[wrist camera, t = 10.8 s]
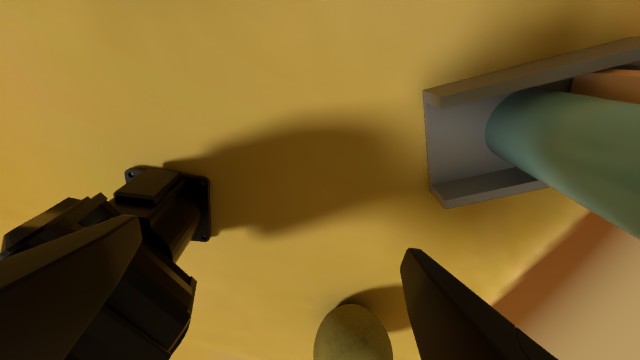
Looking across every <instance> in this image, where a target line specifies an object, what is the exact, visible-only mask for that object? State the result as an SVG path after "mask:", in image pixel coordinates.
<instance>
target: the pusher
mask: <svg viewBox="0 0 640 360" xmlns="http://www.w3.org/2000/svg"><path fill="white" fill-rule="evenodd" d="M571 93H576V94H582V95H588V96H594V97H599V98H605V99H611V100H617V101H623V102H629V103H634V104H640V71H638V70H623V69H608V68H607V69H603V70H599V71H595V72H591V73H587V74H583V75H579V76H575V77H573V81H572V87H571Z"/></svg>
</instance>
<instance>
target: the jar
mask: <svg viewBox="0 0 640 360" xmlns="http://www.w3.org/2000/svg"><path fill="white" fill-rule="evenodd" d="M485 140H486V144H487V146H488V148H489V149H490V151H491V152H492V153H494V154H495V155H496V156H498V157H500V158H502V159H503V160H505V161H507V162H508V163H510V164H512V165H513V166H515V167H517V168H519V169H520V170H522V171H524V172H525V173H527V174H529V175H531V176H532V177H534V178H536V179H537V180H539V181H541V182H542V183H544V184H546V185H548V186H549V187H551V188H553V189H554V190H556V191H558V192H560V193H561V194H563V195H565V196H566V197H568V198H570V199H571V200H573V201H575V202H577V203H578V204H580V205H582V206H583V207H585V208H587V209H589V210H590V211H592V212H594V213H595V214H597V215H599V216H601V217H602V218H604V219H606V220H607V221H609V222H611V223H613V224H614V225H616V226H618V227H619V228H621V229H623V230H625V231H626V232H628V233H630V234H631V235H633V236H635V237H636V238H638V239H640V104H634V103H629V102H623V101H617V100H611V99H605V98H599V97H594V96H588V95H582V94H576V93H570V92H564V91H559V90H553V89H547V88H541V87H530V88H526V89H522V90H518V91H516V92H514V93H512V94H511V95H509V96H508V97H506V98H505V99H504V100H503V101H502V102H500V103H499V104H498V106H497V107H496V108H495V109H494V111H493V112H492V114H491V115H490V117H489V119H488V122H487V125H486V129H485Z"/></svg>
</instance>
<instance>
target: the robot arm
mask: <svg viewBox="0 0 640 360" xmlns="http://www.w3.org/2000/svg"><path fill="white" fill-rule="evenodd" d="M131 173H133V174H134V176H133V175H132V174H131ZM125 180H126V184H125V185H124V186H122V187H121V188H120V189H118V190H117V191H116V192H114V194H113V195H114V198H112V199H111V200H110V201H107V198H106V197H105V196H104V195H103V194H102V193H101V192H100V193H99V194H97V195H95V196H94V197H92V198H91V199H90V198H89V197H88V196H87V197H86V198H84V199H82V200H79V199H74V198H69V197H68V198H67V199H65V200H63V201H62V202H60V203H58V204H57V205H55V206H53V207H52V208H50V209H48V210H47V211H45V212H43V213H41V214H40V215H38V216H36V217H34V218H32V219H31V220H29V221H27V222H25V223H23V224H22V225H20V226H18V227H16V228H15V229H13V230H11V231H10V232H8V233H7V234H5V235H4V236H3V242H2V247H1V252H0V360H169V359H170V357H171V355H172V354H173V352H174V351H175V350H176V348H177V347H178V346H179V344H180V343H181V341H182V340H183V338H184V336H185V334H186V332H187V330H188V328H189V324H190V319H191V313H192V307H193V302H194V296H195V290H196V284H197V281H196V280H195V279H194V278H193V277H192V276H191V277H189V276H188V275H187V274H186V273H185V272H184V271H183V270H182V269H181V268H180V267H178V266H177V265H176V264H175V263H176V262H177V260H178V259H179V257H180V256H181V254H182V253H183V251H184V249H185V248H186V246H187V245H188V243H189V242H190V240H191V241H200V242H207V241H209V239H210V237H211V214H210V182H209V180H208V179H207V178H206V177H203V176H195V175H187V174H182V173H180V172H177V171H169V170H162V169H154V168H147V169H141V168H129V169H127V170H126V171H125ZM200 181H202V182H204V183H205V185H203V184H201V182H200ZM203 235H204V236H206V237H204V236H203ZM400 273H401V279H402V284H403V290H404V295H405V301H406V306H407V311H408V315H409V319H410V323H411V326H412V330H413V333H414V336H415V340H416V343H417V347H418V350H419V354H420V357H421V360H558V359H557V358H555V357H554V356H553V355H551V354H550V353H549V352H547V351H546V350H545V349H543V348H542V347H541V346H540V345H538V344H537V343H536V342H535V341H533V340H532V339H531V338H529V337H528V336H527V335H526V334H525V333H523V332H522V331H521V330H520V329H519V328H517V327H516V328H515V325H514V324H512V323H511V322H510V321H509V320H507V319H506V318H505V317H504V316H502V315H501V314H500V313H499V312H497V311H496V310H495V309H494V308H492V307H491V306H490V305H489V304H488V303H486V302H485V301H484V300H483V299H481V298H480V297H479V296H478V295H476V294H475V293H474V292H473V291H471V290H470V289H469V288H468V287H466V286H465V285H464V284H463V283H462V282H460V281H459V280H458V279H457V278H455V277H454V276H453V275H452V274H450V273H449V272H448V271H447V270H445V269H444V268H443V267H442V266H440V265H439V264H438V263H437V262H436V261H434V260H433V259H432V258H431V257H429V256H428V255H427V254H426V253H424V252H423V251H422V250H420V249H416V248H408V249H407V251H406V253H405V255H404V258H403V261H402V263H401V267H400Z"/></svg>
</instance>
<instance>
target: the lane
mask: <svg viewBox="0 0 640 360" xmlns="http://www.w3.org/2000/svg"><path fill="white" fill-rule="evenodd" d="M607 68H608V69H623V70H638V71H640V38H627V39H623V40H619V41H615V42H611V43H607V44H603V45H599V46H595V47H591V48H587V49H583V50H579V51H575V52H571V53H568V54H564V55H560V56H556V57H552V58H548V59H544V60H540V61H536V62H532V63H528V64H524V65H520V66H516V67H512V68H509V69H505V70H501V71H497V72H493V73H489V74H485V75H481V76H477V77H473V78H469V79H465V80H461V81H457V82H453V83H450V84H446V85H442V86H438V87H434V88H430V89H426V90H423V103H424V117H425V130H426V144H427V157H428V171H429V184H430V191H431V193H432V194H433V195H434V196H435V198H436V199H437V200H438V201H439V202H440V204H441V205H442V206H443V207H444V209H450V208H454V207H459V206H464V205H468V204H473V203H478V202H483V201H487V200H492V199H497V198H501V197H506V196H511V195H515V194H520V193H525V192H530V191H534V190H539V189H544V188H548V187H549V186H548V185H546V184H544V183H542V182H541V181H539V180H537V179H536V178H534V177H532V176H531V175H529V174H527V173H525V172H524V171H522V170H520V169H519V168H517V167H515V166H513V165H512V164H510V163H508V162H507V161H505V160H503V159H502V158H500V157H498V156H496V155H495V154H494V153H492V152H491V151H490V149H489V148H488V146H487V144H486V140H485V129H486V125H487V122H488V119H489V117H490V115H491V114H492V112H493V111H494V109H495V108H496V107H497V106H498V104H499V103H500V102H502V101H503V100H504V99H505V98H506V97H508V96H509V95H511V94H512V93H514V92H516V91H518V90H522V89H526V88H530V87H541V88H547V89H553V90H559V91H564V92H570V93H571V87H572V81H573V77H575V76H579V75H583V74H587V73H591V72H595V71H599V70H603V69H607Z"/></svg>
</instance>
